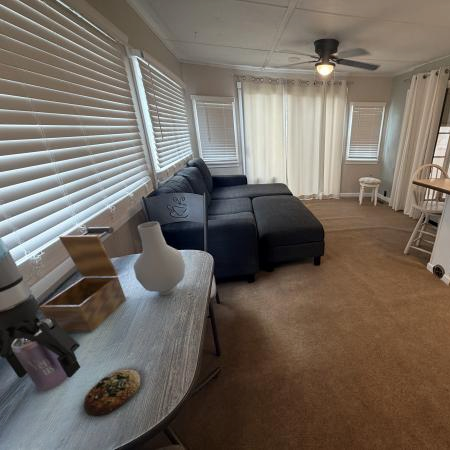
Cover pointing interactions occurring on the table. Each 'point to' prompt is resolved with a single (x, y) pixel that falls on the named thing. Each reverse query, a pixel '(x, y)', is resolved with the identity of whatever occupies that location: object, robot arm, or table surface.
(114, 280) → the chest
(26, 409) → the table surface
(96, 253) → the chest lid
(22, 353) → the beverage can
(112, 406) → the bread roll
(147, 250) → the vase
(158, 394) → the table surface
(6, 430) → the table surface
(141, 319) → the table surface
